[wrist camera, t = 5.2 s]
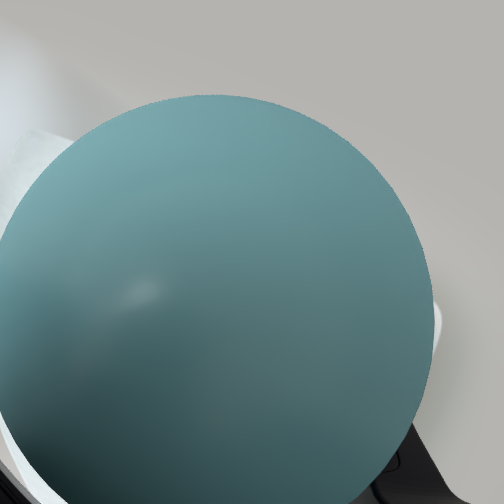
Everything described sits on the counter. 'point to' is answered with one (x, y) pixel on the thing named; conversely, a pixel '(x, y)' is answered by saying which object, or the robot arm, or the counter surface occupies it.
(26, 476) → the counter surface
